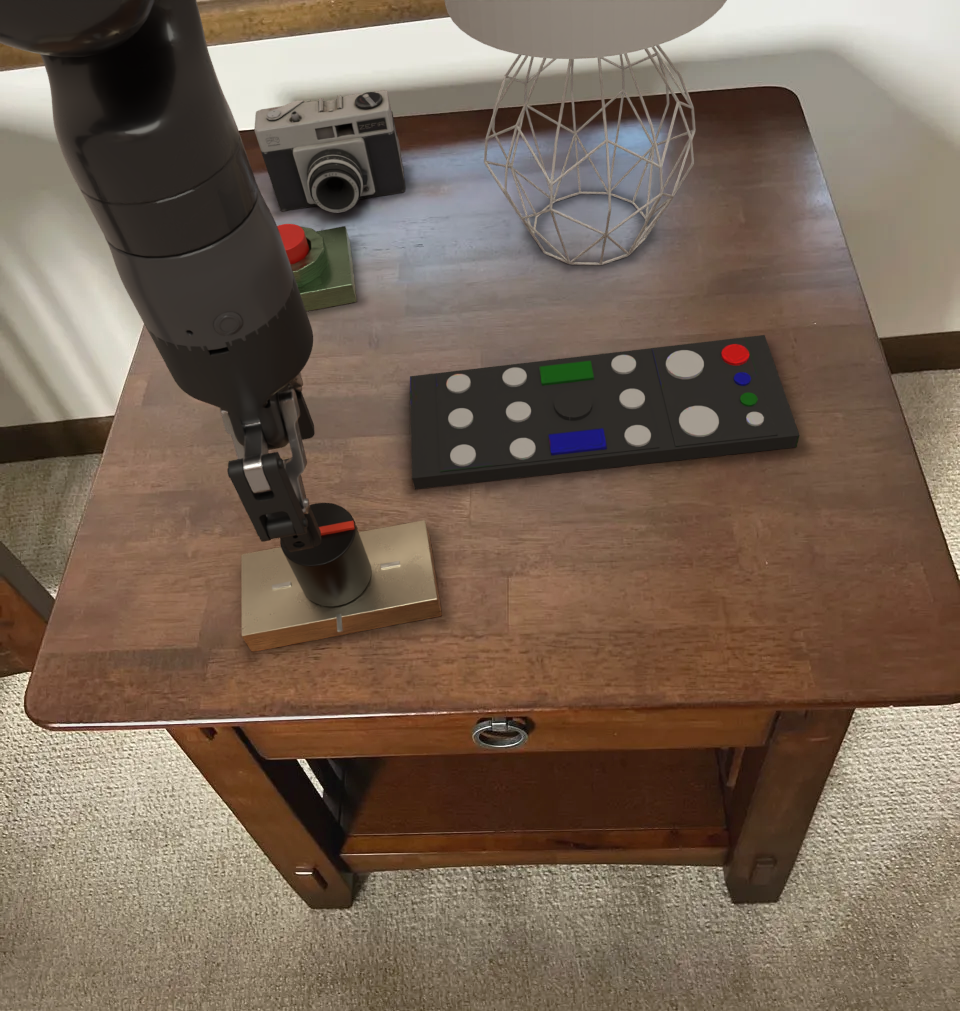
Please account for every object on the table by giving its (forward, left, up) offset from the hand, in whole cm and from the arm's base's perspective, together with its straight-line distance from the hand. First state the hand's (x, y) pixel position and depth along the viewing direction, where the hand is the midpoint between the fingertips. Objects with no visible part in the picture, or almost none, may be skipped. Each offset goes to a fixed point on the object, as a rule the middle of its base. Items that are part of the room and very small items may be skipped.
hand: (301, 488), depth 57 cm
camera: (+3, +49, -14) cm, 51 cm away
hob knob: (0, 0, -11) cm, 11 cm away
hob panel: (0, 0, -14) cm, 14 cm away
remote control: (+22, +13, -14) cm, 29 cm away
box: (-2, +37, -14) cm, 40 cm away
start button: (-2, +37, -10) cm, 38 cm away
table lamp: (+27, +37, -14) cm, 48 cm away
